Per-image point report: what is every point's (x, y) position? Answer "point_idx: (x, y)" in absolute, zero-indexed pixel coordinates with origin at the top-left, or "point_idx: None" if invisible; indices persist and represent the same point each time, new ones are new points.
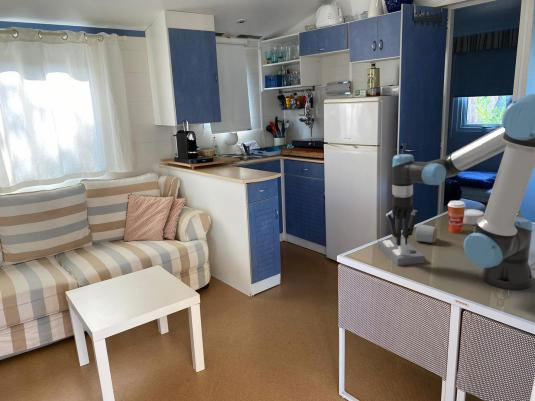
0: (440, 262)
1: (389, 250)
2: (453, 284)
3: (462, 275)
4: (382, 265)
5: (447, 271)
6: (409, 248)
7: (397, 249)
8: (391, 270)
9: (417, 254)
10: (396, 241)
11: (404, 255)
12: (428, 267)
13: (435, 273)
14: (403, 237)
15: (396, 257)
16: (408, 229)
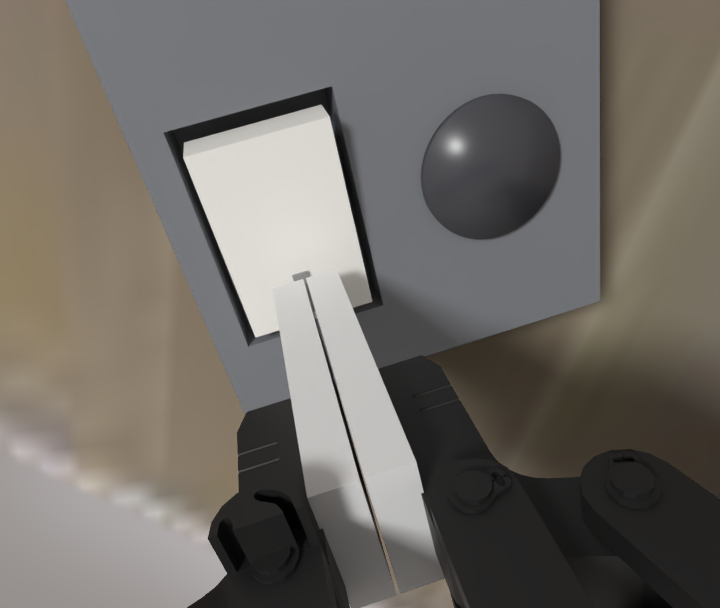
0: (703, 247)
1: (127, 101)
2: None
3: (707, 468)
4: (49, 358)
5: (649, 422)
6: (509, 10)
7: (278, 142)
8: (162, 461)
9: (533, 269)
10: (242, 473)
11: (354, 297)
12: (540, 365)
13: (543, 465)
14: (417, 554)
15: (230, 380)
16: (702, 602)
